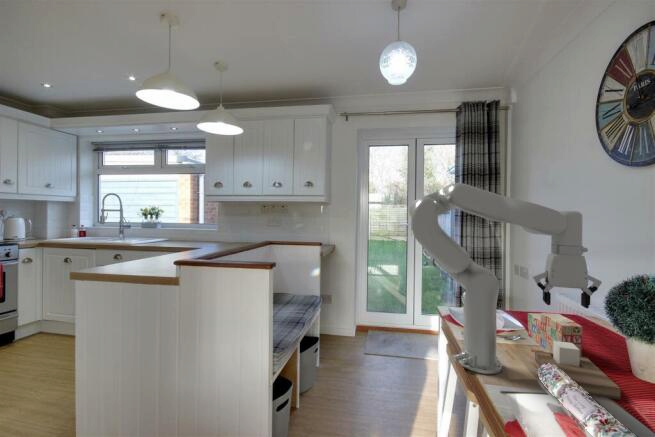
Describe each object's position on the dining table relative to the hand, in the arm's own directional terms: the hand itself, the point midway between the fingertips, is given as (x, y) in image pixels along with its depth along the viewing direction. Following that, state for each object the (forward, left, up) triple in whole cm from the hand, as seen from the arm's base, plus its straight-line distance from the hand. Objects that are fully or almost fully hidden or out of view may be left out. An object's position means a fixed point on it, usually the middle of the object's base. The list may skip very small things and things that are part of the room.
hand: (565, 305), depth 93 cm
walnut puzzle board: (-3, -4, -20) cm, 21 cm away
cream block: (0, 0, -19) cm, 19 cm away
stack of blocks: (+12, +12, -21) cm, 27 cm away
